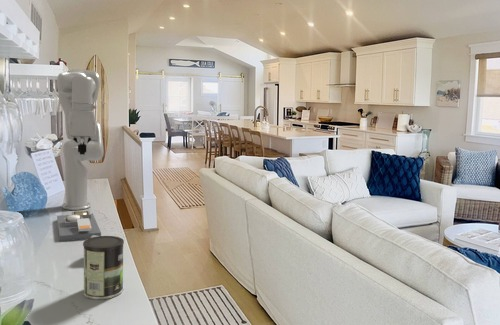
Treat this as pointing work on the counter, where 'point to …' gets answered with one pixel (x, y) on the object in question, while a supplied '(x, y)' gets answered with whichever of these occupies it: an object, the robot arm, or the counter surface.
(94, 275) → the coffee can
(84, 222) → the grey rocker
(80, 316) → the counter surface
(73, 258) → the counter surface
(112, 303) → the counter surface
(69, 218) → the white button
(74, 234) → the control panel
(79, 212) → the brass button
